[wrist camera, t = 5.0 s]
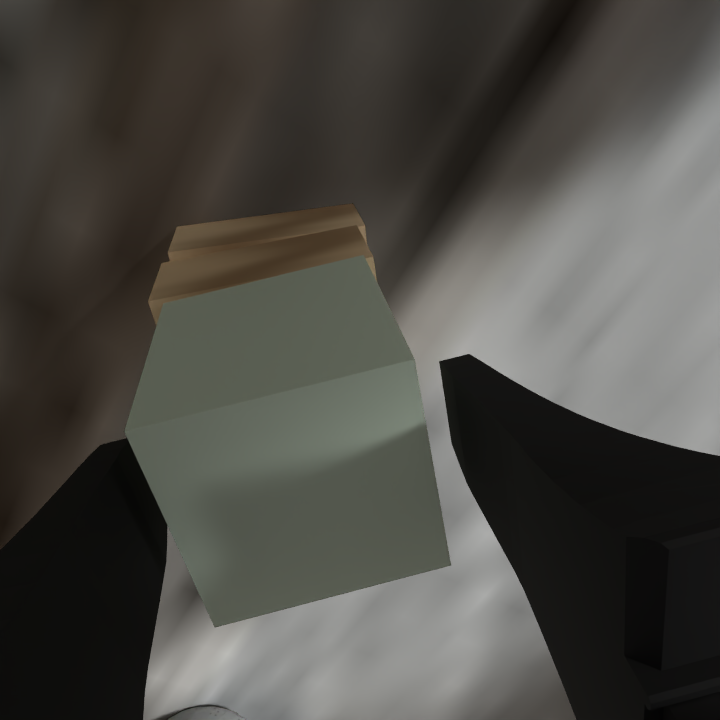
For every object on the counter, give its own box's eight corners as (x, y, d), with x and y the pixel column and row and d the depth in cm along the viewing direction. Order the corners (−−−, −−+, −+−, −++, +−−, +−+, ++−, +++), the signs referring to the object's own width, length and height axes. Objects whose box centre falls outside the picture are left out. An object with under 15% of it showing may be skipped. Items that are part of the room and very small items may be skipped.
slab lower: (352, 201, 19) (365, 225, 16) (366, 352, 21) (380, 391, 19) (177, 224, 18) (167, 252, 16) (213, 375, 21) (208, 418, 18)
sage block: (363, 254, 14) (414, 358, 10) (396, 419, 16) (451, 565, 12) (163, 303, 14) (124, 431, 10) (224, 463, 16) (214, 627, 12)
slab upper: (356, 224, 16) (373, 256, 14) (382, 389, 19) (400, 438, 17) (161, 263, 16) (147, 301, 14) (213, 425, 19) (209, 479, 16)
